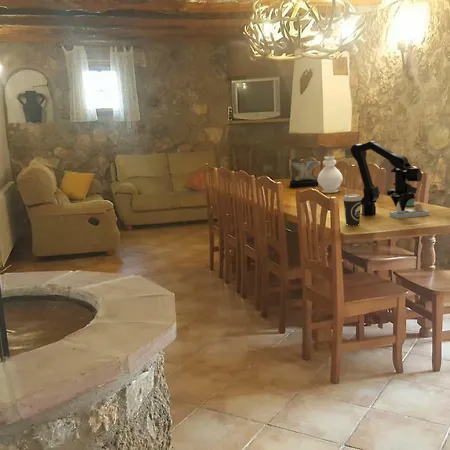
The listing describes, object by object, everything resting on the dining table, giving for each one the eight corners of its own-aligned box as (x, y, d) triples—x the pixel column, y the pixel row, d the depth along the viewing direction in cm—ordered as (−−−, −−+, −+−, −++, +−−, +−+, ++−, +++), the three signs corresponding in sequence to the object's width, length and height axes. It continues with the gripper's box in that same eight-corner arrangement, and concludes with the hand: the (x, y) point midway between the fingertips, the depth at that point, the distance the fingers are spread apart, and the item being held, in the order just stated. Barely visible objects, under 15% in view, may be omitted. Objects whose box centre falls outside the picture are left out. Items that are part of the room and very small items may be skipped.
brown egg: (416, 215, 280) (416, 204, 279) (411, 214, 285) (411, 202, 284) (424, 214, 281) (424, 203, 280) (419, 213, 286) (419, 202, 284)
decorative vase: (312, 191, 390) (311, 157, 385) (333, 188, 397) (332, 155, 392) (327, 194, 374) (326, 158, 369) (348, 191, 381) (347, 156, 376)
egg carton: (397, 219, 277) (397, 213, 276) (389, 216, 285) (389, 210, 284) (429, 216, 280) (429, 209, 279) (421, 213, 288) (421, 207, 287)
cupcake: (406, 207, 308) (407, 186, 305) (398, 205, 316) (398, 185, 314) (419, 205, 310) (420, 185, 308) (411, 203, 318) (411, 183, 316)
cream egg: (406, 213, 279) (406, 201, 278) (398, 213, 278) (398, 202, 277) (402, 211, 284) (402, 200, 282) (394, 212, 283) (394, 200, 282)
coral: (321, 184, 427) (320, 157, 423) (322, 187, 408) (322, 159, 403) (289, 185, 431) (288, 158, 426) (289, 189, 411) (288, 161, 407)
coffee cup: (359, 222, 277) (359, 193, 274) (364, 225, 267) (364, 196, 264) (341, 223, 276) (340, 194, 273) (345, 227, 267) (345, 197, 264)
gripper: (424, 181, 270) (424, 211, 273) (405, 177, 288) (405, 206, 291) (404, 183, 268) (404, 213, 271) (386, 179, 286) (386, 208, 289)
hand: (400, 210), depth 281 cm, fingers closed on cream egg, 5 cm apart
